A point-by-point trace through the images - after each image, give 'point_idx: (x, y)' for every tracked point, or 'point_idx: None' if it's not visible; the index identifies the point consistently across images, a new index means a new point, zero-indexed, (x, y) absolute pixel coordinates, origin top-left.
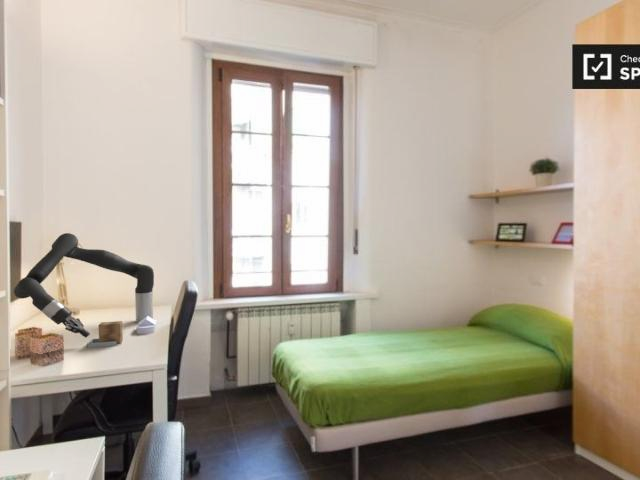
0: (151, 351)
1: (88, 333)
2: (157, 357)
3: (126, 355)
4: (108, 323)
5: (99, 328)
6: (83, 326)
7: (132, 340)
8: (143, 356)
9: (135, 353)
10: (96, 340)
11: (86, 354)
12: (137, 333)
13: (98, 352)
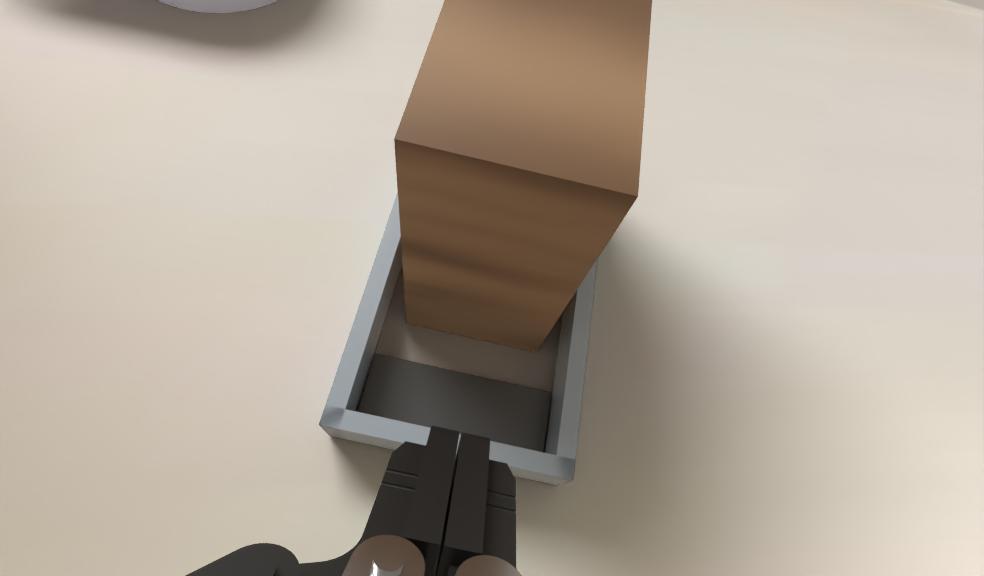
0: (843, 30)
1: (479, 444)
2: (972, 29)
3: (910, 163)
4: (566, 51)
5: (612, 225)
6: (291, 556)
7: None
8: (945, 82)
9: (870, 109)
10: (362, 371)
11: (821, 478)
12: (234, 11)
13: (778, 358)
